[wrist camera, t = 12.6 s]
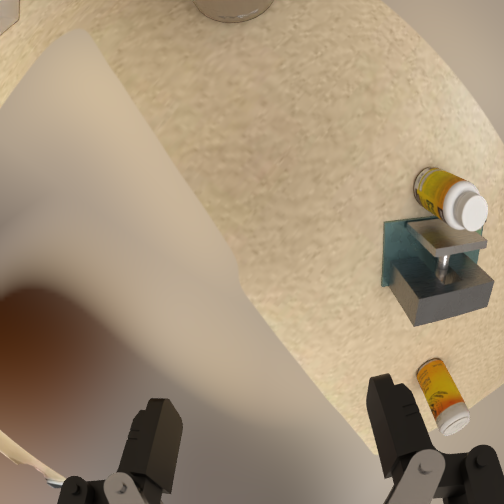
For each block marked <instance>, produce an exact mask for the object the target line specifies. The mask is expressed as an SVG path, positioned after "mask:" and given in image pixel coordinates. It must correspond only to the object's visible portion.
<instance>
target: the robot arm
mask: <svg viewBox="0 0 504 504" xmlns="http://www.w3.org/2000/svg"><path fill="white" fill-rule="evenodd" d="M193 2H194V3H195V5H196V6H197V8H198V9H199V10H200V11H201V12H202V13H203V14H204V15H206V16H207V17H209V18H211V19H214V20H217V21H221V22H229V23H233V22H242V21H246V20H250V19H252V18H255V17H257V16H258V15H260V14H262V13H263V12H264V11H265V10H266V9H267V8H268V7H269V6H270V5H271V3H272V2H273V0H193ZM366 405H367V411H368V415H369V419H370V422H371V426H372V430H373V434H374V437H375V441H376V445H377V449H378V453H379V457H380V461H381V465H382V469H383V473H384V478H389V477H392V478H393V482H394V486H393V487H392V489H391V491H390V493H389V495H388V497H387V498H386V500H385V502H384V504H430V503H431V500H432V498H443V503H444V504H504V475H503V472H502V469H501V466H500V463H499V460H498V457H497V454H496V452H495V450H494V449H493V448H492V447H490V446H488V445H479V446H476V447H474V448H473V449H472V450H471V451H470V452H468V453H458V454H445V453H441V452H440V451H438V450H436V448H435V447H434V446H433V445H432V442H431V440H430V437H429V435H428V432H427V429H426V426H425V424H424V421H423V419H422V416H421V413H420V412H419V408H418V406H417V404H416V401H415V399H414V396H413V394H412V391H411V390H409V389H408V388H407V387H406V386H405V385H404V384H403V383H401V384H397V385H394V383H393V381H392V378H391V376H390V374H388V373H387V374H383V375H379V376H375V377H371V378H370V380H369V386H368V392H367V398H366ZM130 430H131V431H130V432H129V435H128V440H127V442H126V445H125V448H124V451H123V455H122V458H121V461H120V465H119V468H118V470H117V472H116V473H113V474H111V475H110V476H109V477H108V478H107V479H106V480H99V481H87V482H86V481H85V480H84V479H82V478H81V477H78V476H71V477H69V478H67V479H66V480H65V481H64V483H63V485H62V488H61V492H60V496H59V499H58V503H57V504H164V503H163V502H162V500H161V496H162V493H166V494H171V491H172V485H173V479H174V473H175V468H176V463H177V457H178V452H179V446H180V441H181V436H182V430H183V423H182V419H181V417H180V416H179V414H178V412H177V411H176V409H175V408H174V406H173V404H172V403H171V401H170V400H169V399H163V398H161V399H160V398H159V399H158V398H151V399H150V400H149V402H148V404H147V407H146V410H140V411H139V413H138V414H137V415H136V416H135V418H134V419H133V422H132V425H131V429H130Z"/></svg>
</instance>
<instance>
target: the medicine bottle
mask: <svg viewBox="0 0 504 504" xmlns="http://www.w3.org/2000/svg"><path fill="white" fill-rule="evenodd" d="M18 20H19V0H0V35H1V34H2V33H3V32H4V31H5V30H7V29H8V28H9V27H10V26H12V25H13V24H14V23H15V22H17V21H18Z"/></svg>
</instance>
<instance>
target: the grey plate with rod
mask: <svg viewBox="0 0 504 504" xmlns="http://www.w3.org/2000/svg"><path fill="white" fill-rule="evenodd" d="M485 222H486V221H485ZM406 230H407V231H408V232H409V233H410V234H411V235H412V236H413V237H415V238H416V239H417V240H418V241H419V242H420V243H421V244H422V245H423V246H424V247H425V248H426V249H427V250H428V251H429V252H430V253H431V254H432V255H433V256H434V257H438V260H437V267H436V274H435V275H436V276H437V278H438V279H439V280H440V281H441V282H442V283H443V284H444V285H445V281H446V276H447V270H448V264H449V257H450V255H451V254H457V253H462V252H468V251H473V250H478V249H483V248H486V246H487V239H485V238H484V237H482V236H481V235H480V234H478V233H477V232H476V231H468V230H466V229H463V230H456V229H454V228H452V227H450V226H449V225H447V224H446V223H445V222H444V221H442V220H441V219H433V220H425V221H417V222H409V223H407V229H406Z"/></svg>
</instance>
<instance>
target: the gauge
mask: <svg viewBox="0 0 504 504" xmlns="http://www.w3.org/2000/svg"><path fill="white" fill-rule="evenodd" d="M433 219H439V218H438V217H437V216H430V217H421V218H413V219H404V220H396V221H388V222H384V241H383V265H382V281H381V286H382V287H385V286H389V287H390V289H391V290H392V292H393V294H394V295H395V297H396V298H397V300H398V302H399V303H400V305H401V306H402V308H403V310H404V311H405V313H406V315H407V316H408V318H409V319H410V321H411V323H412V325H413V326H414V327H415V326H419V325H424V324H428V323H432V322H435V321H439V320H443V319H447V318H450V317H454V316H458V315H461V314H465V313H468V312H471V311H475V310H478V309H481V308H484V307H487V305H488V302H489V298H490V295H491V291H492V288H493V284H494V280H493V279H492V278H491V277H490V276H489V275H488V274H487V273H486V272H484V271H483V270H482V269H481V268H480V267H479V266H478V265H477V261H478V255H479V250H480V249H478V250H473V251H468V252H462V253H457V254H451V255H450V257H449V264H448V270H447V276H446V281H445V285H444V284H443V283H442V282H441V281H440V280H439V279H438V278H437V276H436V275H435V274H436V267H437V260H438V257H434V256H433V255H432V254H431V253H430V252H429V251H428V250H427V249H426V248H425V247H424V246H423V245H422V244H421V243H420V242H419V241H418V240H417V239H416V238H415V237H413V236H412V235H411V234H410V233H409V232H408V231H407V230H406V229H407V223H409V222H417V221H425V220H433ZM482 230H483V226H482V227H481V228H480V229H478V230H476V232H477V233H478V234H480V235H481V236H482Z"/></svg>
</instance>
